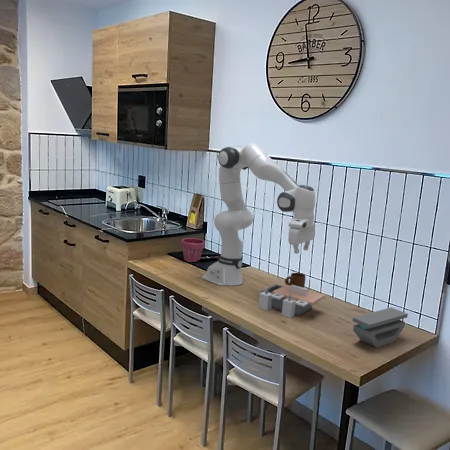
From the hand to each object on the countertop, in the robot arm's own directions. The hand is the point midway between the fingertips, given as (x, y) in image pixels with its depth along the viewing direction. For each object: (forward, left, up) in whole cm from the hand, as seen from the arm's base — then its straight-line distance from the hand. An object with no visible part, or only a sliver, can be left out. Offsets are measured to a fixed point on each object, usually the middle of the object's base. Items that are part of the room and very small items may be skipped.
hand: (301, 251), depth 218 cm
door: (+2, -3, -20) cm, 21 cm away
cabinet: (-4, -3, -27) cm, 28 cm away
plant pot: (-83, +26, -28) cm, 92 cm away
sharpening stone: (+41, -8, -28) cm, 50 cm away
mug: (-11, +20, -28) cm, 36 cm away
